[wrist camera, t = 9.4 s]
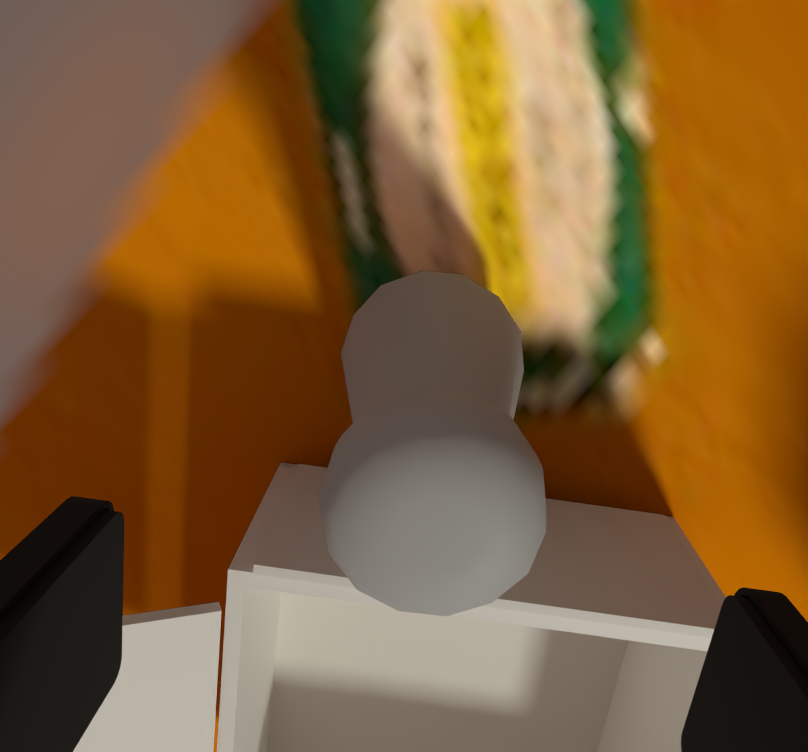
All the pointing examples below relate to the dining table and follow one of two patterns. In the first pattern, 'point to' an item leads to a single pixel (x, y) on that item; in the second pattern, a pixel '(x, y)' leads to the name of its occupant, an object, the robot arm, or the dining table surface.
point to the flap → (162, 685)
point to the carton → (465, 642)
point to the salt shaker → (433, 450)
